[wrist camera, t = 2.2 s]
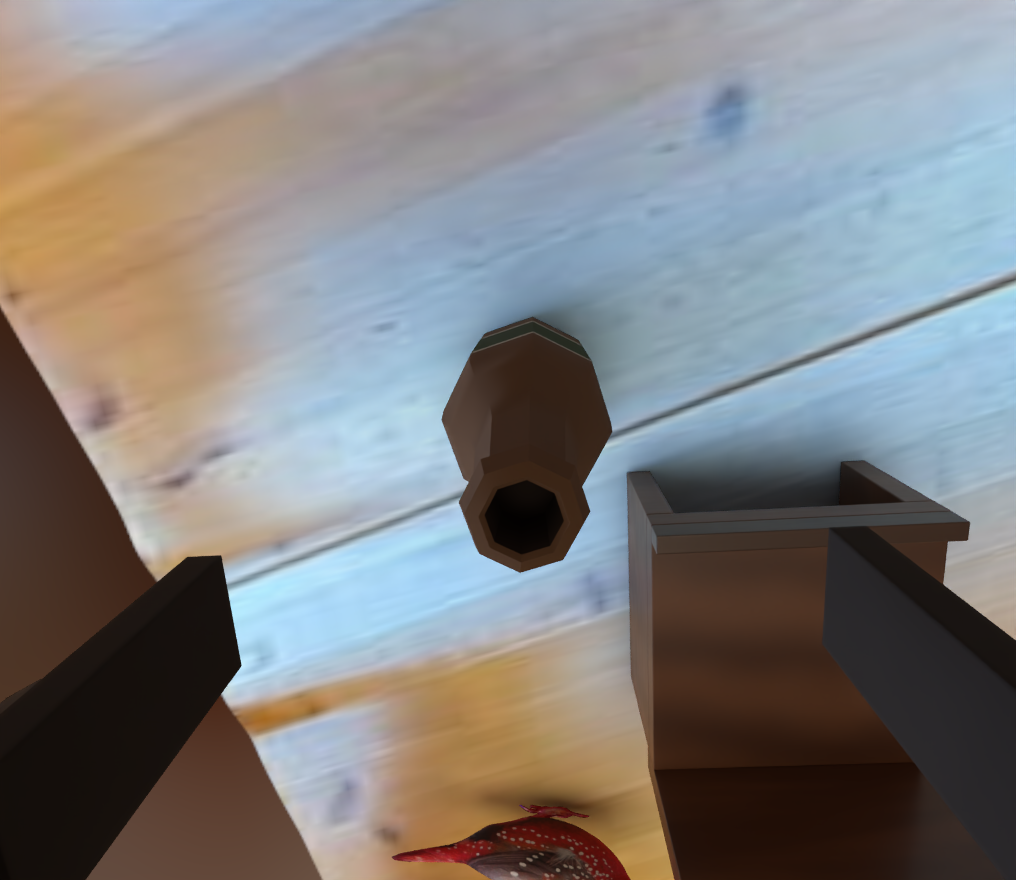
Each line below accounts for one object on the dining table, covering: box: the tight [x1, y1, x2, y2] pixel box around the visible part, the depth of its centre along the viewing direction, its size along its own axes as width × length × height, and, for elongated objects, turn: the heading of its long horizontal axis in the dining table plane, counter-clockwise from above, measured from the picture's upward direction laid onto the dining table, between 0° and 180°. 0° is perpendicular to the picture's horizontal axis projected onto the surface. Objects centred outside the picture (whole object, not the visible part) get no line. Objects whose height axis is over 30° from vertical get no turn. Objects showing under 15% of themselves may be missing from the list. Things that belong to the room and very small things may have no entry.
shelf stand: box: [627, 461, 1005, 880], centre depth 34 cm, size 16×15×21 cm
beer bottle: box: [442, 317, 612, 573], centre depth 30 cm, size 8×8×24 cm
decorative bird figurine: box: [392, 805, 630, 880], centre depth 45 cm, size 3×18×10 cm, turn 82°
